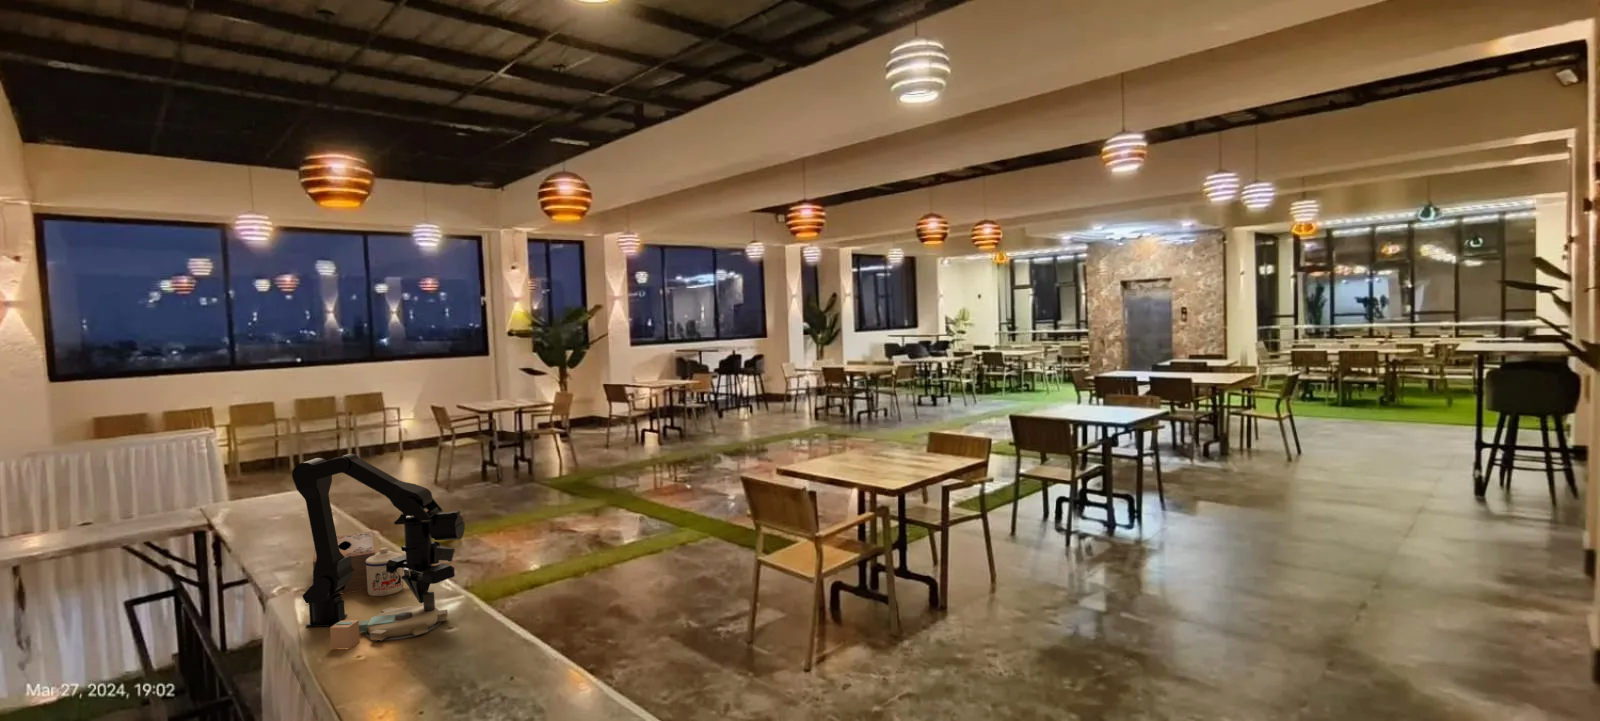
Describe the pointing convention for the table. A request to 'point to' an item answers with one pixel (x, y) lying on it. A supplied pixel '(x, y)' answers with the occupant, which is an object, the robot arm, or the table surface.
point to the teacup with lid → (383, 574)
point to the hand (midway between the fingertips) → (422, 602)
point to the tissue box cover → (356, 557)
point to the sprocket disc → (404, 620)
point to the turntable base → (406, 635)
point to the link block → (344, 634)
